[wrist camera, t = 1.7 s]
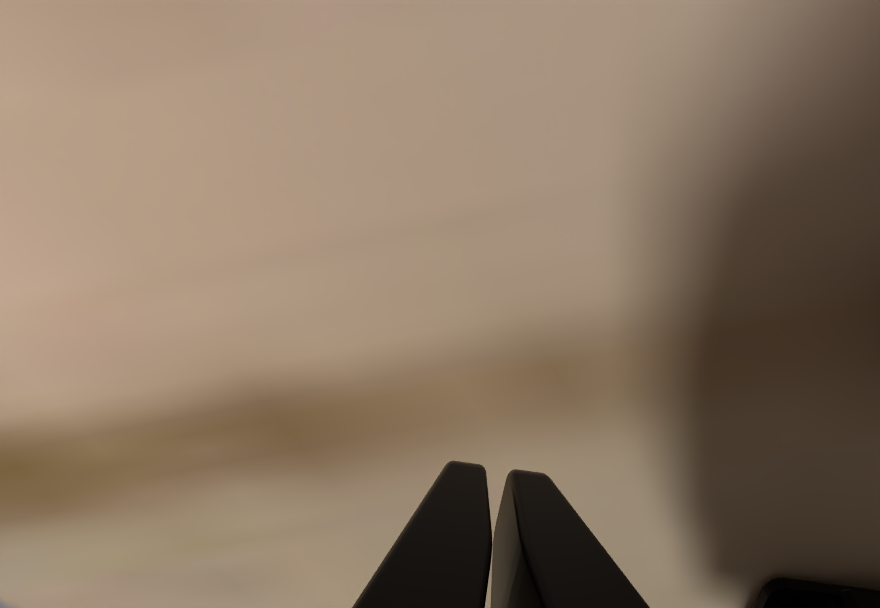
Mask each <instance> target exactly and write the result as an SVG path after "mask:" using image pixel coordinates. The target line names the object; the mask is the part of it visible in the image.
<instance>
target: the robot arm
mask: <svg viewBox="0 0 880 608" xmlns="http://www.w3.org/2000/svg"><path fill="white" fill-rule="evenodd" d="M491 554H492V530H491V519H490V509H489V498H488V487H487V477H486V470H485V468H484V467H483V466H482V465H480V464H473V463H466V462H459V461H450V462H448V463H447V464H446V465H445V467H444V468H443V470H442V471H441V473H440V475H439V476H438V478H437V479H436V481H435V482H434V484H433V485H432V487H431V488H430V490H429V491H428V493H427V494H426V496H425V497H424V499H423V500H422V502H421V503H420V505H419V507H418V508H417V510H416V511H415V513H414V514H413V516H412V517H411V519H410V520H409V522H408V523H407V525H406V526H405V528H404V529H403V531H402V532H401V534H400V535H399V537H398V539H397V540H396V542H395V543H394V545H393V546H392V548H391V549H390V551H389V552H388V554H387V555H386V557H385V558H384V560H383V561H382V563H381V564H380V566H379V568H378V569H377V571H376V572H375V574H374V575H373V577H372V578H371V580H370V581H369V583H368V584H367V586H366V587H365V589H364V590H363V592H362V593H361V595H360V596H359V598H358V600H357V601H356V603H355V604H354V606H353V607H352V608H485V601H486V593H487V586H488V579H489V571H490V564H491ZM781 594H783V595H781ZM491 608H650V607H649V606H648V605H647V603H646V602H645V601H644V600H643V598H642V597H641V596H640V594H639V593H638V592H637V590H636V589H635V588H634V587H633V585H632V584H631V583H630V581H629V580H628V579H627V577H626V576H625V575H624V574H623V572H622V571H621V570H620V568H619V567H618V566H617V564H616V563H615V562H614V561H613V559H612V558H611V557H610V555H609V554H608V553H607V551H606V550H605V549H604V548H603V546H602V545H601V544H600V542H599V541H598V540H597V539H596V537H595V536H594V535H593V533H592V532H591V531H590V529H589V528H588V527H587V526H586V524H585V523H584V522H583V520H582V519H581V518H580V516H579V515H578V514H577V513H576V511H575V510H574V509H573V507H572V506H571V505H570V503H569V502H568V501H567V500H566V498H565V497H564V496H563V494H562V493H561V492H560V490H559V489H558V488H557V487H556V485H555V484H554V483H553V481H552V480H551V479H550V478H549V477H548V476H547V475H546V474H543V473H539V472H531V471H524V470H517V469H515V470H512V471H510V473H509V474H508V476H507V479H506V482H505V487H504V491H503V495H502V500H501V504H500V508H499V513H498V517H497V521H496V526H495V531H494V539H493V559H492V586H491ZM754 608H880V591H877V590H870V589H862V588H855V587H848V586H840V585H833V584H825V583H818V582H811V581H803V580H796V579H788V578H777V579H773V580H771V581H769V582H768V583H766V584H765V586H764V587H763V589H762V591H761V593H760V595H759V598H758V600H757V602H756V604H755V606H754Z"/></svg>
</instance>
